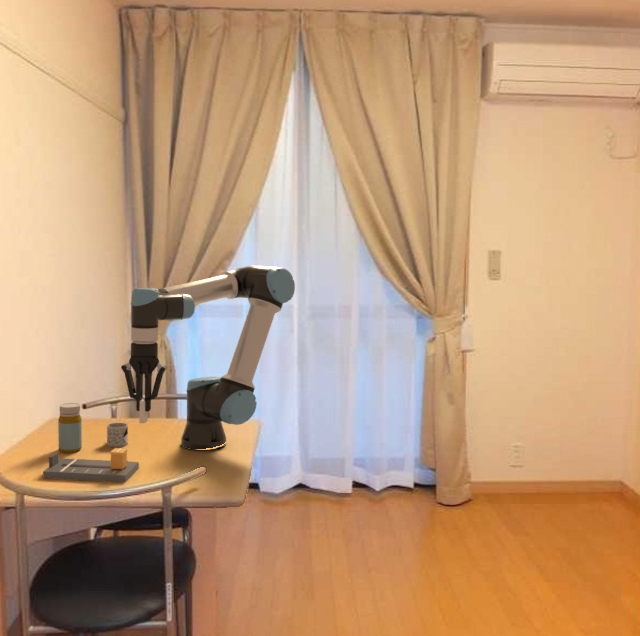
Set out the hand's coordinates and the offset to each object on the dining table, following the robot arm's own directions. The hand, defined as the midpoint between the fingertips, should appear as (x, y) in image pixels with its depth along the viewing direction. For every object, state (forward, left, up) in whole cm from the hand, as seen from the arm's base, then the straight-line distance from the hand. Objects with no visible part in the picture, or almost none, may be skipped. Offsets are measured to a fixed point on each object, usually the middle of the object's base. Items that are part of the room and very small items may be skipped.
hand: (143, 421), depth 197 cm
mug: (+18, -30, -17) cm, 39 cm away
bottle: (+30, -20, -17) cm, 40 cm away
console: (+15, 0, -16) cm, 22 cm away
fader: (+7, 0, -14) cm, 16 cm away
